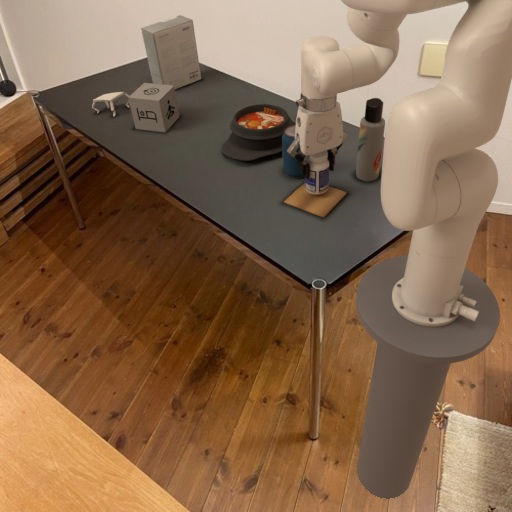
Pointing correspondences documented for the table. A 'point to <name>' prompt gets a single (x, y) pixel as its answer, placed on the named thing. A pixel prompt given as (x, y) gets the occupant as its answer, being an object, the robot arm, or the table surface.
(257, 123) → the casserole
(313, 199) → the cork mat
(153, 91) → the icon cube
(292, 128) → the soda can
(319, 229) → the table surface
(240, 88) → the table surface
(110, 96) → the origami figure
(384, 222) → the table surface
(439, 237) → the robot arm
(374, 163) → the lotion bottle
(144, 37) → the hard drive box
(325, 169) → the pill bottle
